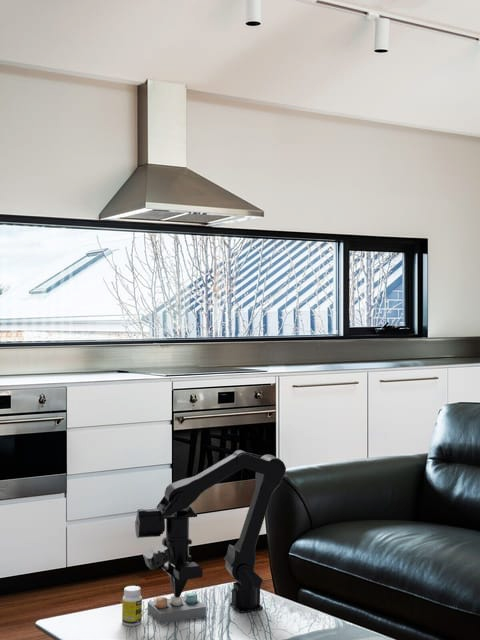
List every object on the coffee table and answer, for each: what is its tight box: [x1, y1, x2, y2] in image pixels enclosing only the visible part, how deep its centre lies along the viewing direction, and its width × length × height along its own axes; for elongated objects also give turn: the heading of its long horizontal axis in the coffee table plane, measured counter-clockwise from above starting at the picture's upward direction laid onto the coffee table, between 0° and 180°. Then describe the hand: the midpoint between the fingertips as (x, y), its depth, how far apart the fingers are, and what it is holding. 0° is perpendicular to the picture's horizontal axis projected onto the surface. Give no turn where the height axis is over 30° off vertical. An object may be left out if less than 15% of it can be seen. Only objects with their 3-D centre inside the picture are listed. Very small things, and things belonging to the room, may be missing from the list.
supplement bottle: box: [121, 585, 143, 627], centre depth 208 cm, size 5×5×8 cm
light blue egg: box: [185, 592, 198, 605], centre depth 216 cm, size 3×3×4 cm
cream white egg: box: [170, 594, 183, 607], centre depth 214 cm, size 3×3×4 cm
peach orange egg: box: [155, 596, 168, 609], centre depth 212 cm, size 3×3×4 cm
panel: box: [147, 595, 207, 625], centre depth 214 cm, size 12×9×2 cm
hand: (177, 597), depth 214 cm, fingers closed, pressing on cream white egg
